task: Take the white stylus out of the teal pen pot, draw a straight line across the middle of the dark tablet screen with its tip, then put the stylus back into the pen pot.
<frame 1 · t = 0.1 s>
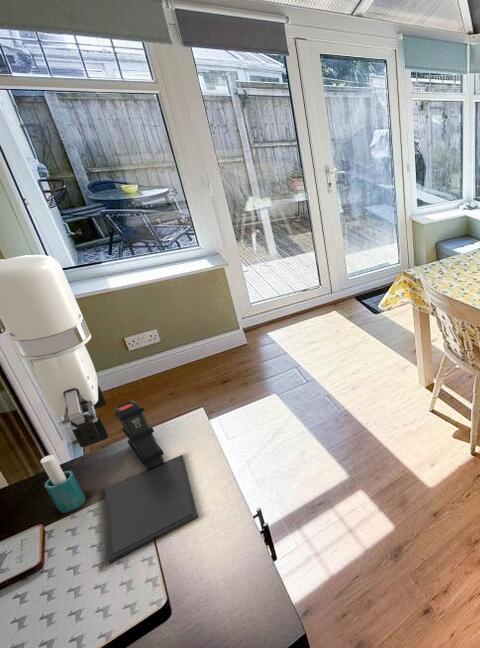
hand: (95, 424, 68), 26 cm above the table, tool pointing down, fingers open, 9 cm apart
tablet: (151, 503, 83), on the table
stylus: (59, 481, 80), in the pen pot
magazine: (147, 453, 94), on the table
pen pot: (72, 504, 82), on the table
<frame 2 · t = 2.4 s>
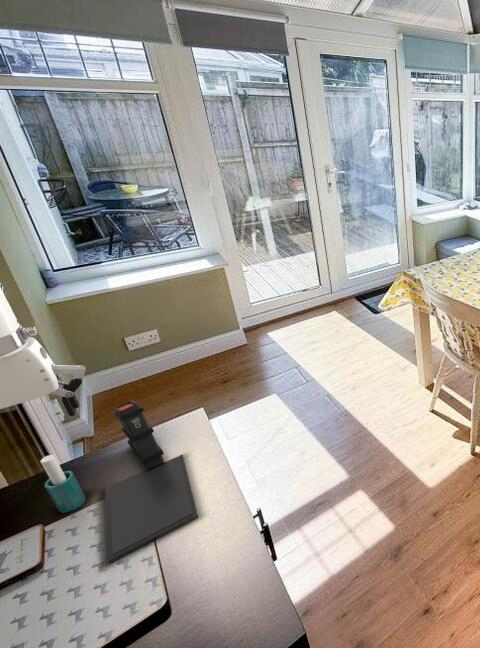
hand: (35, 424, 73), 21 cm above the table, tool pointing down, fingers open, 9 cm apart
nothing on the table moved.
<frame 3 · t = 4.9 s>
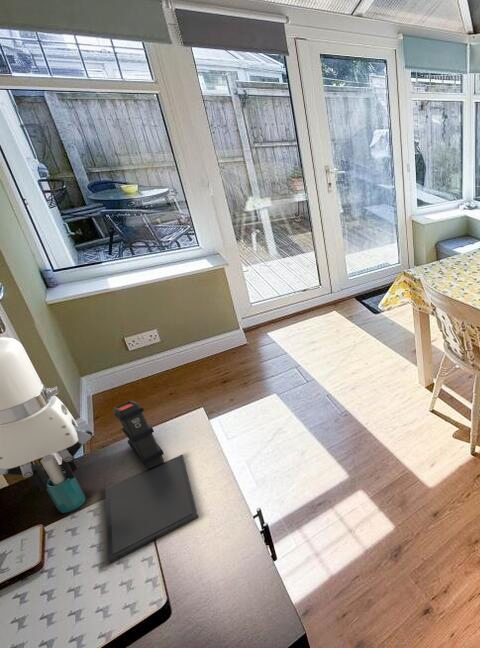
hand: (58, 478, 79), 7 cm above the table, tool pointing down, fingers open, 3 cm apart
nothing on the table moved.
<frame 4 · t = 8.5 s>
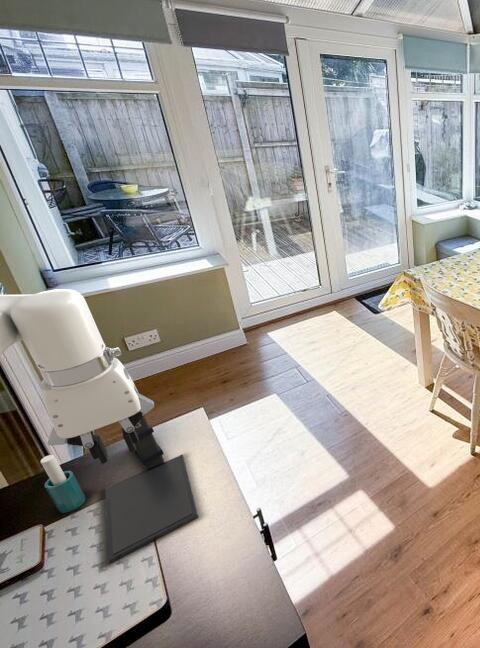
hand: (118, 451, 72), 19 cm above the table, tool pointing down, fingers open, 3 cm apart
nothing on the table moved.
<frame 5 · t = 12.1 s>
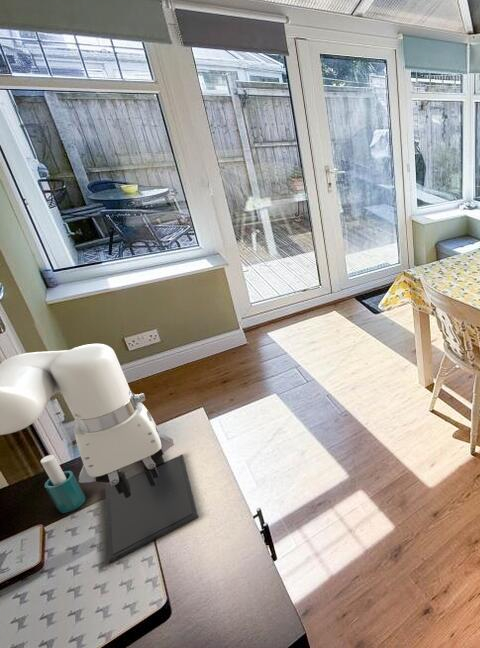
hand: (140, 485, 78), 7 cm above the table, tool pointing down, fingers open, 3 cm apart
nothing on the table moved.
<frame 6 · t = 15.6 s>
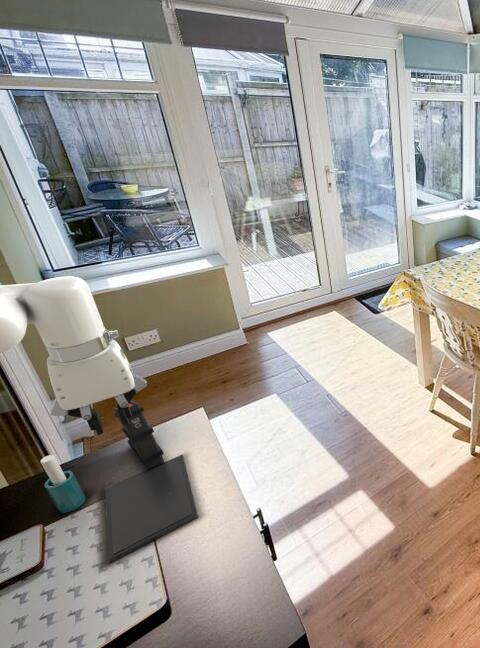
hand: (113, 424, 80), 17 cm above the table, tool pointing down, fingers open, 3 cm apart
nothing on the table moved.
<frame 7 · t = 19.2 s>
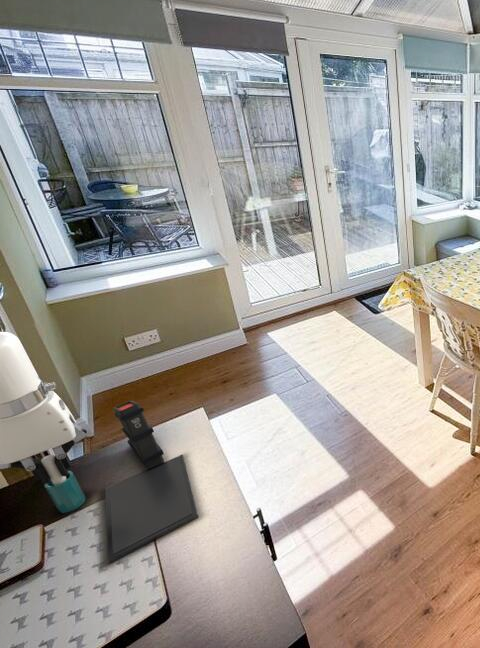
hand: (56, 474, 79), 8 cm above the table, tool pointing down, fingers closed on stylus, 2 cm apart
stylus: (59, 481, 80), in the pen pot, touching gripper
everything else where it was.
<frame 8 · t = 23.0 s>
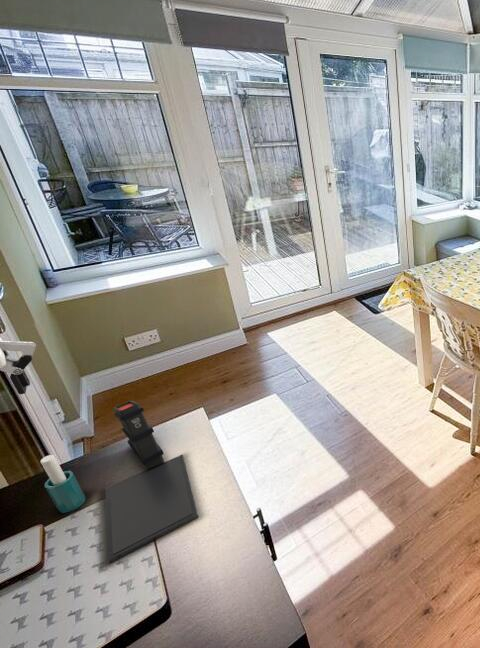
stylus: (59, 481, 80), in the pen pot
everything else where it was.
at the end: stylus 0.0 cm off-centre in the pen pot, point 6.5 cm above the pen pot's base; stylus tilted 0°; the gripper is holding nothing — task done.
